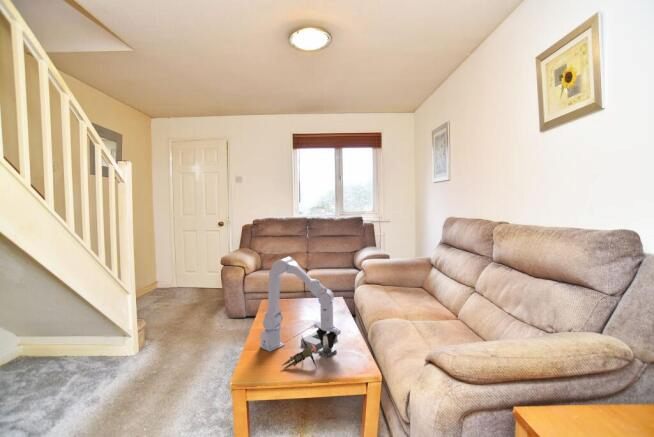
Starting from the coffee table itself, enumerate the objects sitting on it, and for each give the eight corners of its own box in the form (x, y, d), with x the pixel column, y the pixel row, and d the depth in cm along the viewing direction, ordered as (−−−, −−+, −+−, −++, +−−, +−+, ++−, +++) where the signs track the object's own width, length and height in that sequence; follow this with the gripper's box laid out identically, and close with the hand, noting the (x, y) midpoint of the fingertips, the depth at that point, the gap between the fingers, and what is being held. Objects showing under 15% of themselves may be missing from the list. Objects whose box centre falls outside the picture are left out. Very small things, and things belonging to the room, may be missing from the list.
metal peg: (327, 352, 136) (327, 337, 136) (321, 350, 139) (320, 335, 138) (333, 349, 139) (333, 334, 139) (326, 347, 142) (326, 332, 141)
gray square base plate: (328, 357, 135) (328, 354, 135) (318, 353, 139) (318, 350, 139) (336, 352, 139) (336, 349, 139) (326, 348, 143) (326, 345, 143)
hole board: (315, 351, 141) (315, 344, 141) (300, 345, 148) (300, 338, 148) (337, 339, 153) (337, 333, 153) (322, 334, 160) (322, 328, 160)
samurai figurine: (293, 384, 128) (333, 359, 132) (289, 385, 119) (333, 358, 123) (277, 348, 135) (316, 325, 138) (273, 347, 126) (315, 322, 130)
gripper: (344, 318, 137) (345, 347, 137) (321, 311, 146) (321, 339, 147) (334, 322, 131) (335, 353, 132) (310, 315, 141) (311, 344, 141)
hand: (327, 346), depth 139 cm, fingers closed on metal peg, 4 cm apart
